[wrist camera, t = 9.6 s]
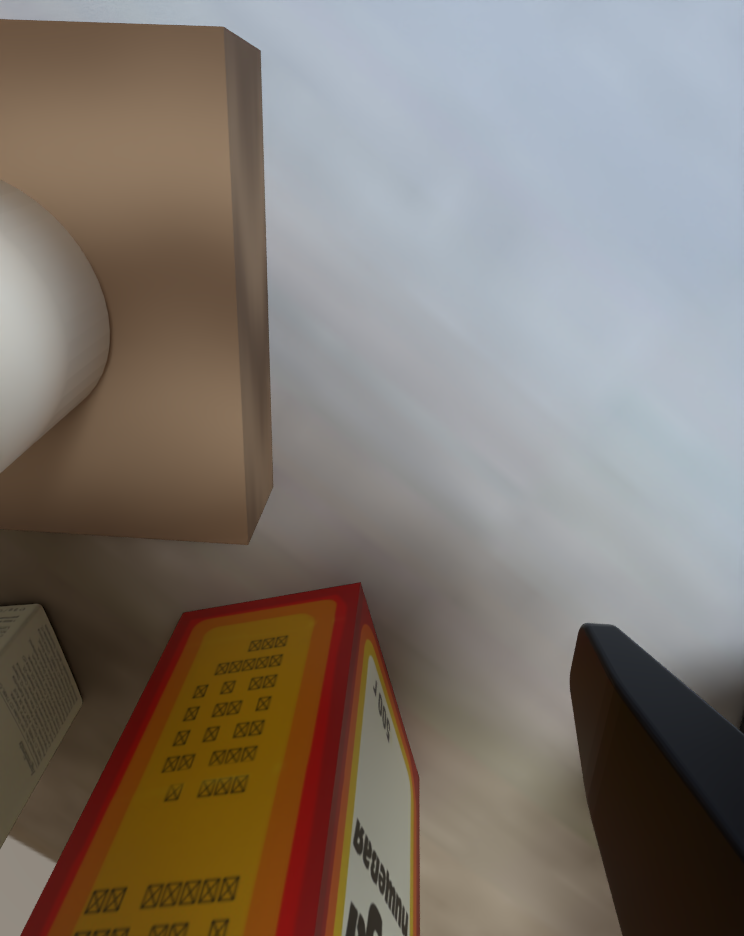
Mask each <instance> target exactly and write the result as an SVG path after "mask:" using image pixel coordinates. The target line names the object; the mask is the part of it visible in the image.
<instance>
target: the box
mask: <svg viewBox="0 0 744 936" xmlns="http://www.w3.org/2000/svg"><path fill="white" fill-rule="evenodd" d="M81 706H82V699H81V696H80V693H79V691H78V688H77V685H76V683H75V680H74V678H73V675H72V673H71V671H70V668H69V666H68V663H67V661H66V659H65V657H64V654H63V652H62V649H61V647H60V645H59V642H58V640H57V638H56V635H55V633H54V631H53V628H52V627H51V624H50V622H49V620H48V618H47V615H46V613H45V611H44V609H43V607H42V606H41V605H39V604H28V605H13V606H3V607H0V848H1V847H2V845H3V843H4V841H5V840H6V838H7V836H8V834H9V833H10V831H11V829H12V827H13V825H14V824H15V822H16V820H17V818H18V817H19V815H20V813H21V811H22V810H23V808H24V806H25V804H26V802H27V801H28V799H29V797H30V795H31V794H32V792H33V790H34V788H35V787H36V785H37V783H38V781H39V780H40V778H41V776H42V774H43V773H44V771H45V769H46V767H47V766H48V764H49V762H50V760H51V758H52V757H53V755H54V753H55V751H56V750H57V748H58V746H59V744H60V743H61V741H62V739H63V737H64V736H65V734H66V732H67V730H68V729H69V727H70V725H71V724H72V722H73V720H74V718H75V716H76V715H77V713H78V711H79V709H80V708H81Z"/></svg>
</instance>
